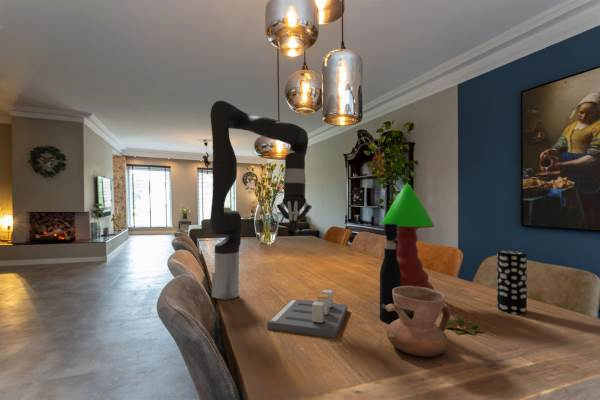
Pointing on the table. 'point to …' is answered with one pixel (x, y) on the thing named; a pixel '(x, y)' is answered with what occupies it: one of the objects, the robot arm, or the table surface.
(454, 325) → the green leafy sprig
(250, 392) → the table surface
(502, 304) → the white-spotted black cylinder
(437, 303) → the ceramic jug
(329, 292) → the breaker
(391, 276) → the wine bottle
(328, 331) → the breaker panel
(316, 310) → the block
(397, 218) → the table lamp
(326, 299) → the block
